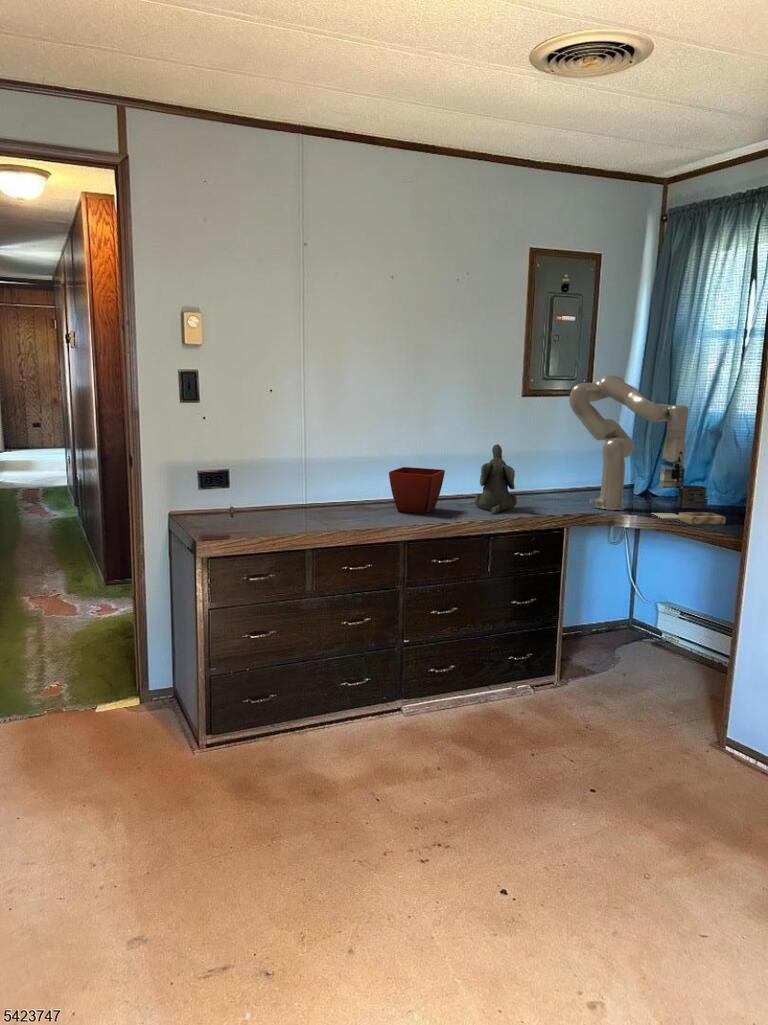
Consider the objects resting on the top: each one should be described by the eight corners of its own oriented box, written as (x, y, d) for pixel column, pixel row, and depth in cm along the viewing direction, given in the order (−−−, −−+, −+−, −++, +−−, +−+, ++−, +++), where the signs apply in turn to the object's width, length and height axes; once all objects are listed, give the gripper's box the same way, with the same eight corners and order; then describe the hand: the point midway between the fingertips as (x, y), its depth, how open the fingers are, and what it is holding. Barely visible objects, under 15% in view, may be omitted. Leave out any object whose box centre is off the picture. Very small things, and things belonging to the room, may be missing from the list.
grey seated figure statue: (493, 503, 345) (497, 443, 340) (526, 511, 328) (530, 448, 323) (461, 506, 334) (464, 444, 329) (493, 514, 317) (497, 450, 312)
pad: (662, 519, 319) (662, 517, 319) (650, 514, 329) (651, 513, 329) (684, 518, 321) (684, 517, 321) (672, 514, 331) (672, 513, 330)
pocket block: (691, 524, 310) (692, 517, 309) (678, 519, 319) (679, 512, 319) (725, 524, 312) (725, 517, 312) (711, 519, 322) (711, 512, 321)
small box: (700, 507, 350) (702, 485, 348) (704, 510, 343) (707, 487, 341) (676, 506, 351) (678, 484, 349) (680, 509, 344) (682, 486, 342)
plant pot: (386, 511, 316) (387, 471, 313) (402, 504, 334) (403, 466, 331) (430, 516, 310) (431, 475, 306) (443, 508, 327) (445, 469, 324)
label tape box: (662, 488, 321) (665, 459, 318) (658, 486, 324) (662, 458, 322) (682, 489, 321) (686, 460, 318) (678, 487, 325) (682, 458, 322)
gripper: (657, 433, 326) (653, 475, 329) (678, 436, 310) (674, 481, 313) (673, 433, 327) (669, 475, 330) (695, 436, 311) (691, 481, 314)
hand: (671, 477), depth 322 cm, fingers closed on label tape box, 4 cm apart
